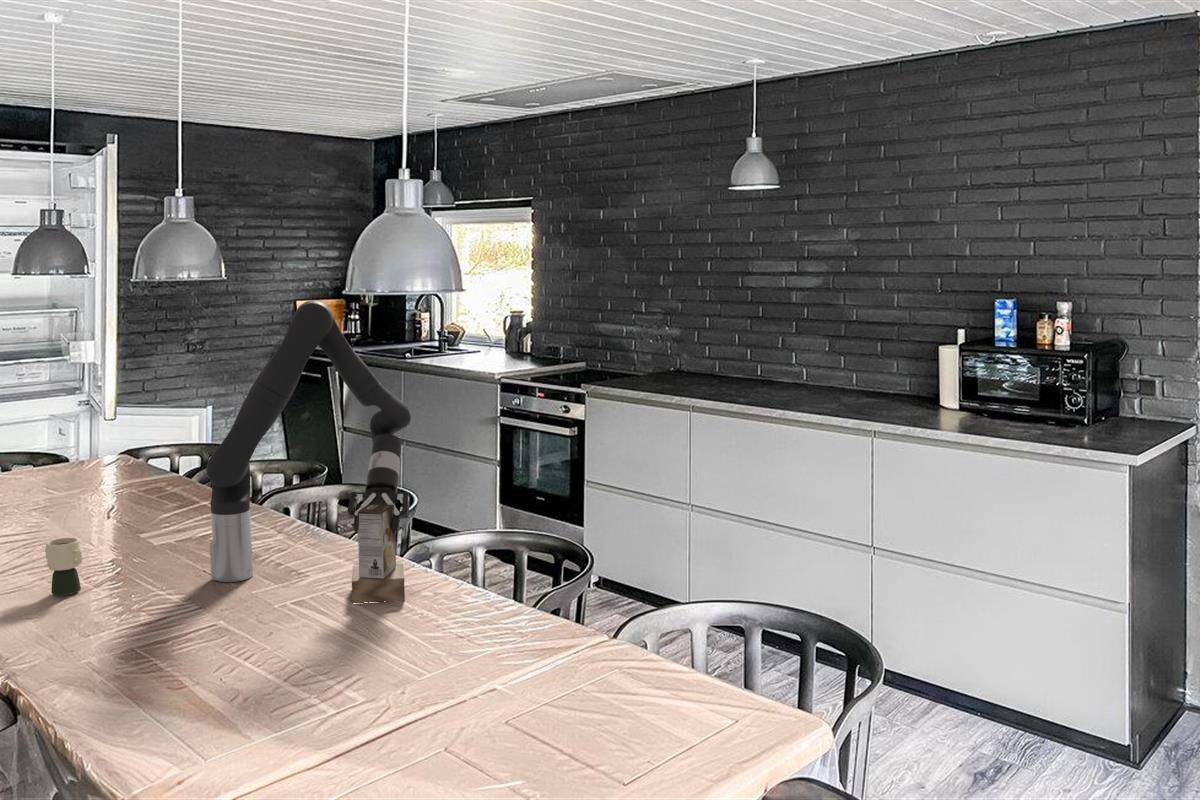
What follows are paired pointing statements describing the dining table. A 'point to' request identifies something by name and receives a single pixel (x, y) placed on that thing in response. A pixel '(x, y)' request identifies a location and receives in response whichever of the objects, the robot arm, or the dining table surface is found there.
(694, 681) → the dining table surface
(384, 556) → the coffee box
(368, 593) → the walnut block
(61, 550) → the character mug
